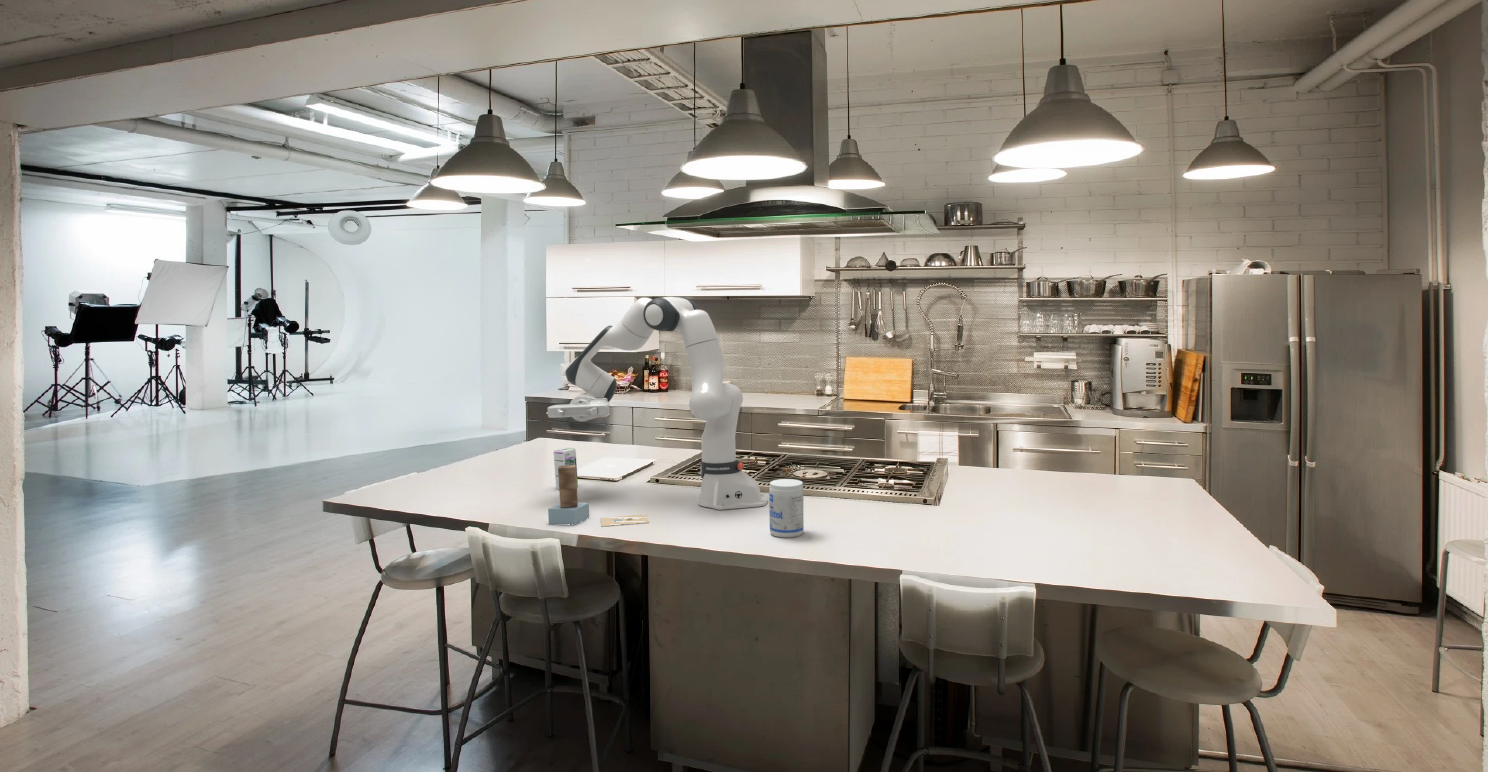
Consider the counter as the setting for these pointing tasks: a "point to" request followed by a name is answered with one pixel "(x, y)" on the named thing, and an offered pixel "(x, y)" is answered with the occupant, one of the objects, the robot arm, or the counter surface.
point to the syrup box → (564, 461)
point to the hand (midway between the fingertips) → (575, 413)
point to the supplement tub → (786, 508)
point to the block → (568, 486)
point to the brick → (568, 514)
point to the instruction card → (609, 521)
